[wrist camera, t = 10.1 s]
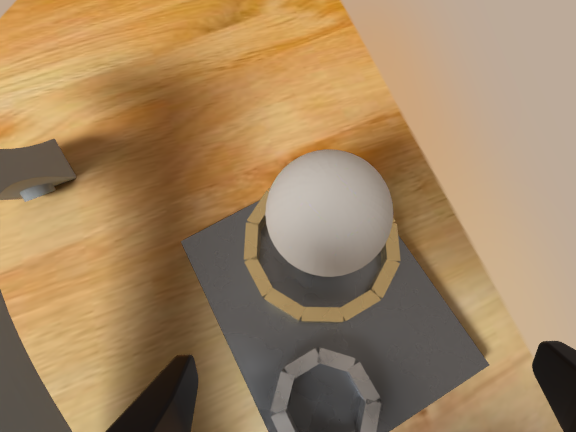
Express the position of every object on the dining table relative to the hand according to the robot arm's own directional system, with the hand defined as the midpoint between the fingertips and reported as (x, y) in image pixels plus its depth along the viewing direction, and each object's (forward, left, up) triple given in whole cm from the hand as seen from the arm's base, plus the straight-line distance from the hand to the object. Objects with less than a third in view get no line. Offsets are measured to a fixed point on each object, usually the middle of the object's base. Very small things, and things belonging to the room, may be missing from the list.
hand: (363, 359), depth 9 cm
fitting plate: (+3, -1, -13) cm, 14 cm away
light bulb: (+5, -3, -13) cm, 14 cm away
